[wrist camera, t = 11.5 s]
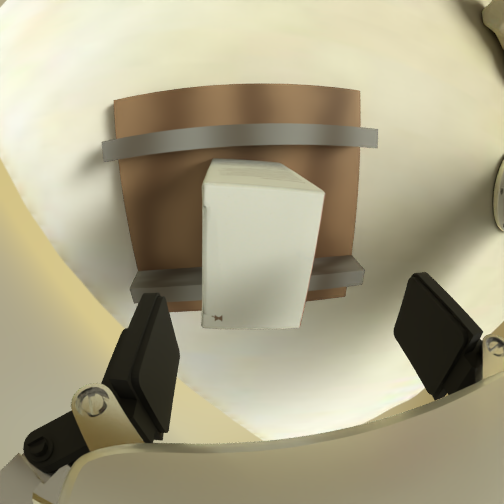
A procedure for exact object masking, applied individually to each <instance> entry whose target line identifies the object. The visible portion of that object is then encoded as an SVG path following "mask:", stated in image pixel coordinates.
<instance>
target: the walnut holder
mask: <svg viewBox="0 0 504 504" xmlns="http://www.w3.org/2000/svg"><path fill="white" fill-rule="evenodd" d="M114 117H115V131H116V139H113V140H109V141H104V142H102V150H103V159H104V162H108V161H113V160H118V161H119V169H120V177H121V184H122V191H123V197H124V203H125V209H126V215H127V221H128V226H129V231H130V236H131V241H132V246H133V250H134V255H135V259H136V264H137V268H138V273H137V275H136V277H135V279H134V281H133V283H132V285H131V287H130V292H131V295H132V298H133V302H134V303H139V301H140V299H141V297H142V295H143V293H160V295H161V297H163V296H164V297H165V298H166V301H167V306H168V310H169V312H183V311H201V310H202V184H203V181H204V179H205V176H206V173H207V171H208V168H209V166H210V164H211V161H212V159H214V158H216V159H239V160H254V161H266V162H276V163H281V164H283V165H284V166H286V167H288V168H289V169H291V170H292V171H294V172H296V173H297V174H299V175H300V176H302V177H303V178H305V179H306V180H308V181H309V182H311V183H312V184H314V185H315V186H317V187H318V188H320V189H321V190H323V191H324V192H325V198H324V204H323V211H322V217H321V223H320V229H319V234H318V239H317V246H316V251H315V256H314V262H313V267H312V272H311V277H310V283H309V288H308V293H307V297H306V301H313V300H322V299H330V298H337V297H345V295H346V289H347V287H348V286H356V285H362V283H363V277H364V271H365V270H364V269H363V267H362V266H361V265H360V264H359V263H358V262H357V261H356V260H355V258H354V257H353V256H352V255H351V254H352V247H353V238H354V229H355V219H356V209H357V196H358V182H359V163H360V147H367V148H378V129H372V128H362V127H360V91H358V90H351V89H343V88H335V87H325V86H313V85H297V84H229V85H213V86H201V87H191V88H182V89H174V90H167V91H160V92H154V93H148V94H143V95H137V96H132V97H127V98H123V99H118V100H114Z"/></svg>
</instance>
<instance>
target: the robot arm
mask: <svg viewBox="0 0 504 504" xmlns="http://www.w3.org/2000/svg"><path fill="white" fill-rule="evenodd" d="M493 209H494V217H495V221H496V224H497V226H498V227H499V229H500V230H502V231H503V232H504V160H503V162H502V164H501V166H500V169H499V171H498V174H497V178H496V182H495V189H494V198H493ZM482 333H483V331H482V330H481V328H480V327H479V326H478V325H477V324H476V323H475V322H474V321H473V320H472V318H471V317H470V316H469V315H468V314H467V313H466V312H465V311H464V310H463V309H462V308H461V307H460V305H459V304H458V303H457V302H456V301H455V300H454V299H453V298H452V297H451V296H450V295H449V294H448V293H447V292H446V291H445V290H444V289H443V288H442V287H441V286H440V285H439V284H438V283H437V282H436V281H435V280H434V279H433V278H432V277H431V276H430V275H429V274H428V273H426V272H422V273H414V274H413V275H412V276H411V278H409V280H408V283H407V287H406V291H405V294H404V298H403V301H402V305H401V308H400V311H399V315H398V318H397V321H396V324H395V327H394V336H395V338H396V340H397V341H398V343H399V345H400V346H401V348H402V349H403V351H404V353H405V354H406V356H407V358H408V359H409V361H410V362H411V364H412V366H413V368H414V369H415V371H416V373H417V374H418V376H419V378H420V379H421V381H422V383H423V385H424V386H425V388H426V390H427V392H428V393H429V394H431V395H432V396H433V398H434V400H437V399H439V400H437V401H434V402H431V403H429V404H426V405H423V406H421V407H418V408H415V409H412V410H409V411H406V412H403V413H400V414H397V415H394V416H391V417H387V418H384V419H381V420H377V421H374V422H370V423H366V424H362V425H358V426H354V427H350V428H345V429H341V430H336V431H331V432H326V433H320V434H315V435H309V436H302V437H296V438H288V439H280V440H270V441H261V442H260V441H259V442H245V443H226V444H225V443H223V444H184V443H176V444H175V443H153V440H163V433H167V432H168V431H169V424H170V417H171V410H172V403H173V396H174V390H175V384H176V377H177V371H178V365H179V359H180V353H179V348H178V344H177V341H176V337H175V333H174V329H173V326H172V322H171V318H170V314H169V310H168V306H167V301H166V298H165V297H164V296H163V297H161V295H160V293H143V295H142V297H141V299H140V301H139V304H138V306H137V308H136V311H135V313H134V315H133V318H132V320H131V322H130V325H129V327H128V329H124V330H123V331H122V334H121V335H120V338H119V340H118V343H117V345H116V347H115V350H114V352H113V355H112V357H111V360H110V362H109V365H108V368H107V370H106V373H105V375H104V378H103V381H102V383H101V384H98V383H93V384H88V385H85V386H83V387H82V388H80V389H79V390H78V391H77V392H76V393H75V394H74V396H73V398H72V402H71V408H72V411H70V412H68V413H66V414H64V415H62V416H61V417H59V418H57V419H55V420H53V421H51V422H49V423H48V424H46V425H44V426H42V427H40V428H38V429H36V430H34V431H33V432H31V433H30V434H29V435H28V437H27V438H26V439H25V442H24V449H23V450H24V453H23V454H22V455H21V454H19V453H18V454H17V455H16V456H15V457H14V458H13V459H12V460H11V461H10V462H9V463H8V464H7V465H6V466H5V467H4V468H3V469H2V470H1V471H0V504H504V339H503V338H501V337H500V336H497V335H493V334H489V335H486V336H485V337H484V338H483V340H482V341H481V340H480V337H481V335H482ZM447 393H448V396H446V397H445V395H446V394H447ZM442 397H443V398H442ZM440 398H441V399H440Z"/></svg>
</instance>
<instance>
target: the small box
mask: <svg viewBox="0 0 504 504" xmlns="http://www.w3.org/2000/svg"><path fill="white" fill-rule="evenodd" d="M324 198H325V192H324V191H323V190H321V189H320V188H318V187H317V186H315V185H314V184H312V183H311V182H309V181H308V180H306V179H305V178H303V177H302V176H300V175H299V174H297V173H296V172H294V171H292V170H291V169H289V168H288V167H286V166H284V165H283V164H281V163H276V162H266V161H254V160H239V159H216V158H214V159H212V161H211V164H210V166H209V168H208V171H207V173H206V176H205V179H204V181H203V184H202V322H201V326H202V328H212V329H290V328H299V327H300V325H301V320H302V316H303V312H304V307H305V302H306V297H307V293H308V288H309V283H310V277H311V272H312V267H313V262H314V256H315V251H316V246H317V239H318V234H319V229H320V223H321V217H322V211H323V204H324Z"/></svg>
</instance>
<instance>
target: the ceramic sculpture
mask: <svg viewBox="0 0 504 504" xmlns="http://www.w3.org/2000/svg"><path fill="white" fill-rule="evenodd" d="M482 17H483V23H484V24H485V26H487V27H488V28H489V29H491V30H492V31H494V32H495V34H496V36H497V37H498V39H499V41H500V44H501V46H502V48H503V50H504V0H492V1H491V3H490V4H489V5H488V6H487V7H485V8H484V9H483V11H482Z"/></svg>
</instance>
